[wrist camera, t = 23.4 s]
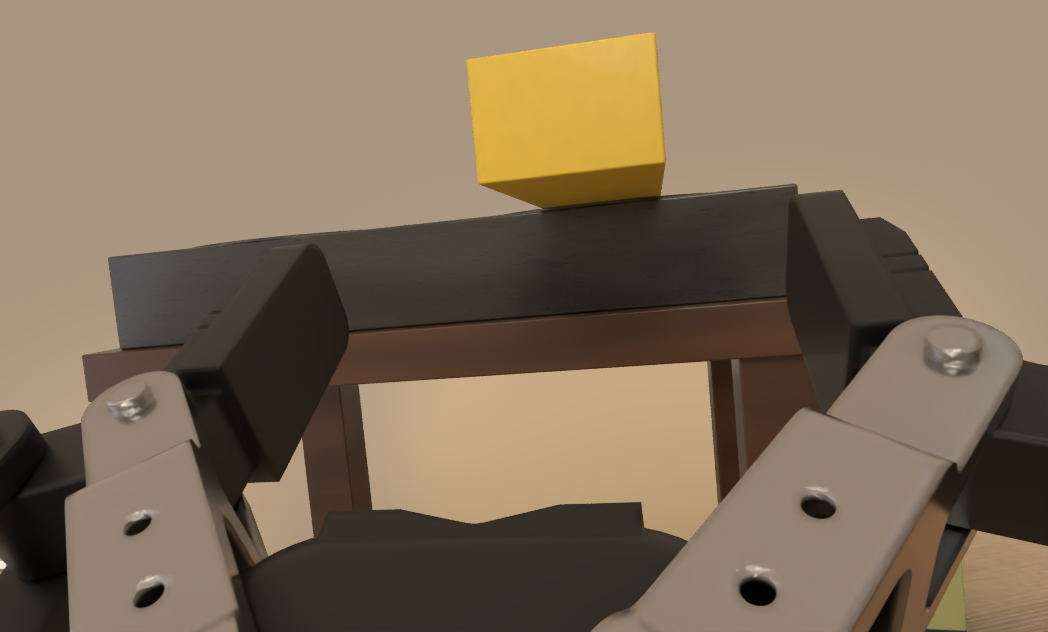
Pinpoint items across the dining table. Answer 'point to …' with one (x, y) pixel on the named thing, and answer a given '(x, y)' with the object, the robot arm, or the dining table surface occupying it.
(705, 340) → the hob stand
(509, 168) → the yellow rectangular bar
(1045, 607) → the dining table surface
